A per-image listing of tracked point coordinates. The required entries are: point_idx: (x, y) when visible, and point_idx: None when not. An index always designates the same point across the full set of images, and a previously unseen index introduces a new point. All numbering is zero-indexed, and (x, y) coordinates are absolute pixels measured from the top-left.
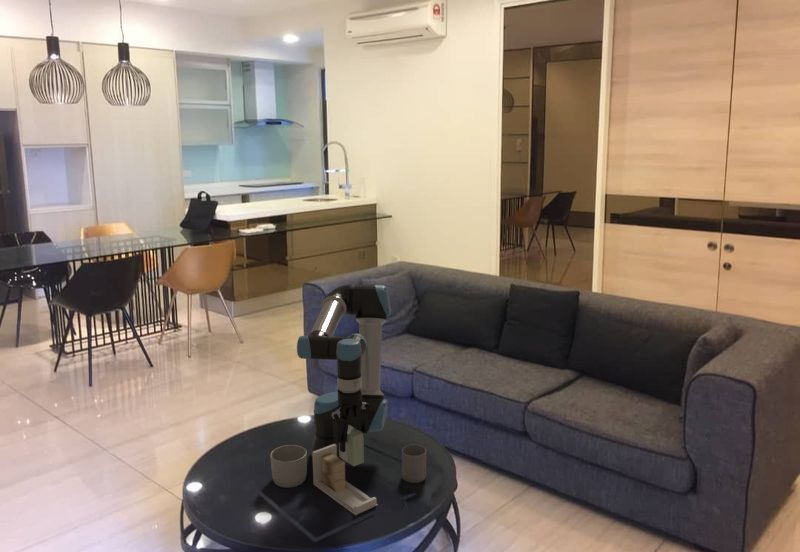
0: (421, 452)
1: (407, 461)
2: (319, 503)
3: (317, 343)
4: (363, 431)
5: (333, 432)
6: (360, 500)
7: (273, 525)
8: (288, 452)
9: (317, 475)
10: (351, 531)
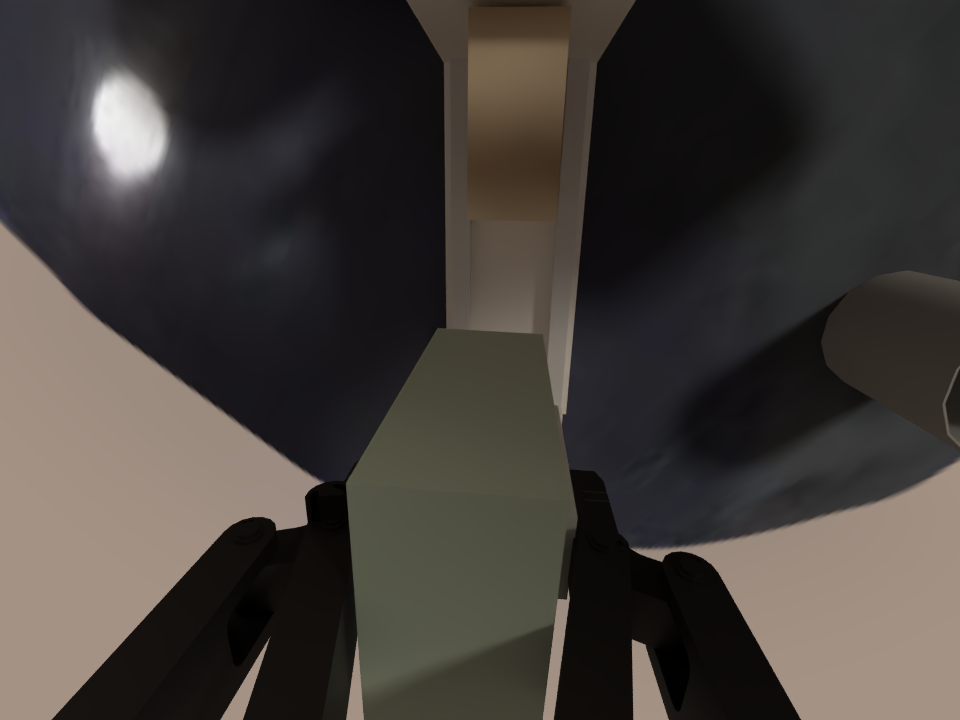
0: None
1: (906, 390)
2: (389, 211)
3: None
4: (648, 631)
5: (152, 615)
6: None
7: (152, 221)
8: None
9: (451, 46)
10: None
